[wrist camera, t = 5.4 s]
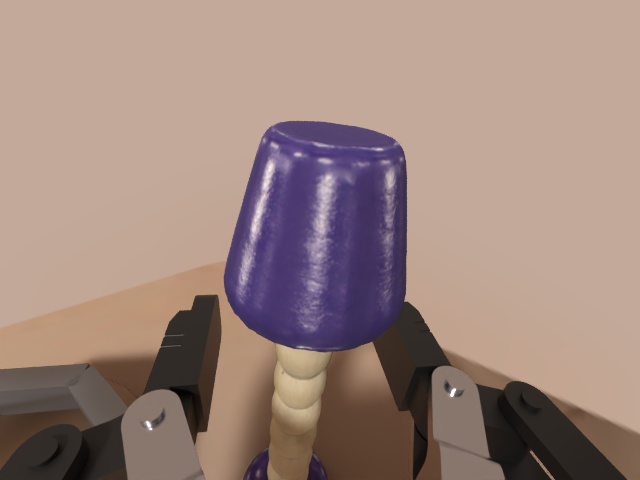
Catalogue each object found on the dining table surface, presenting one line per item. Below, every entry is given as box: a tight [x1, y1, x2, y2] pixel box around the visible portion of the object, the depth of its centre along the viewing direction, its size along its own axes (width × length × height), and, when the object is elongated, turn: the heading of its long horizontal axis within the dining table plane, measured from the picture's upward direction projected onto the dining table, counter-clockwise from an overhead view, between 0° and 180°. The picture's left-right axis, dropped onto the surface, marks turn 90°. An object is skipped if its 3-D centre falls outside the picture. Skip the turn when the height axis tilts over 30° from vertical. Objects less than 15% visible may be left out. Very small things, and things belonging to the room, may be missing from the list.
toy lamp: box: [224, 121, 407, 480], centre depth 10 cm, size 5×5×17 cm
